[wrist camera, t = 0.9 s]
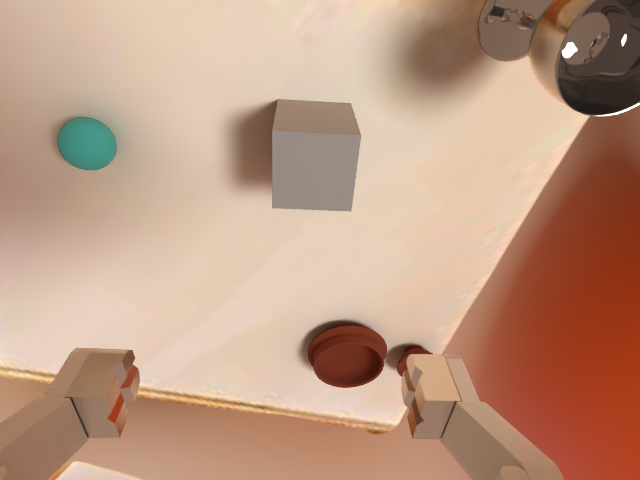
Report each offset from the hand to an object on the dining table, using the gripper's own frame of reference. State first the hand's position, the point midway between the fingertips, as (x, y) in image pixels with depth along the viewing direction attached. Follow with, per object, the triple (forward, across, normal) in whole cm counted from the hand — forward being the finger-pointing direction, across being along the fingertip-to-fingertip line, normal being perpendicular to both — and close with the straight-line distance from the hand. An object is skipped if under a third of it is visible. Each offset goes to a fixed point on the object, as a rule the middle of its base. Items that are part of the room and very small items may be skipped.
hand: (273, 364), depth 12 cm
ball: (+31, +20, +6) cm, 37 cm away
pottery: (+35, -13, +37) cm, 53 cm away
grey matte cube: (+33, -2, +4) cm, 34 cm away
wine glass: (+33, -20, -8) cm, 39 cm away
